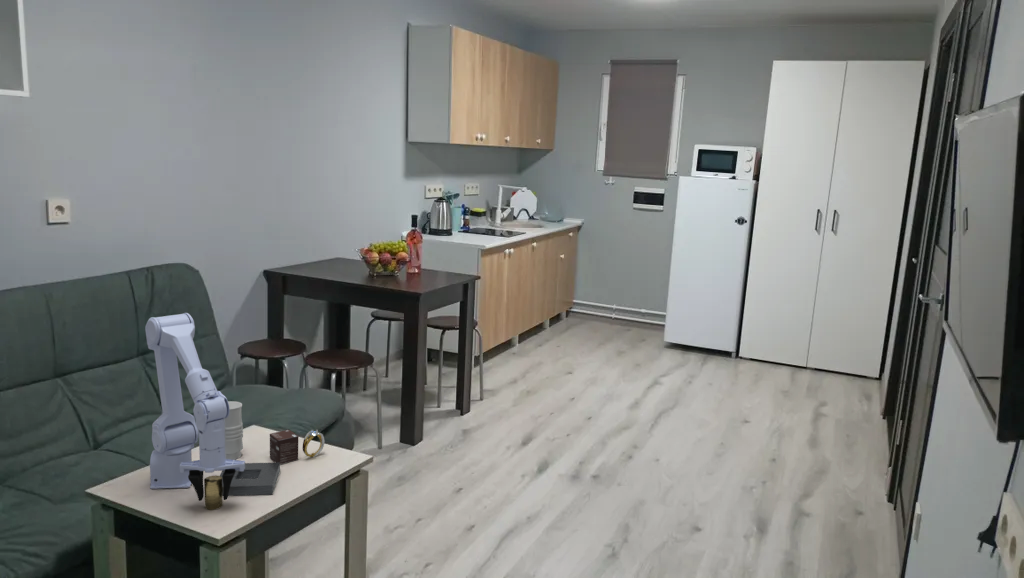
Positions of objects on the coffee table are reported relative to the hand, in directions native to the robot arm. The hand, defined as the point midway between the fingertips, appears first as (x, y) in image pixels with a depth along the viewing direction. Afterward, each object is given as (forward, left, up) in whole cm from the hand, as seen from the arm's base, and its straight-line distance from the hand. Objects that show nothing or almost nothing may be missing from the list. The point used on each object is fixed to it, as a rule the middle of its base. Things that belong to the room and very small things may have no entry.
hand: (213, 498), depth 174 cm
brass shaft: (0, 0, -2) cm, 2 cm away
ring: (+21, +28, -2) cm, 35 cm away
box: (+13, +27, -2) cm, 30 cm away
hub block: (+6, +12, -2) cm, 14 cm away
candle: (-2, +30, -2) cm, 30 cm away
